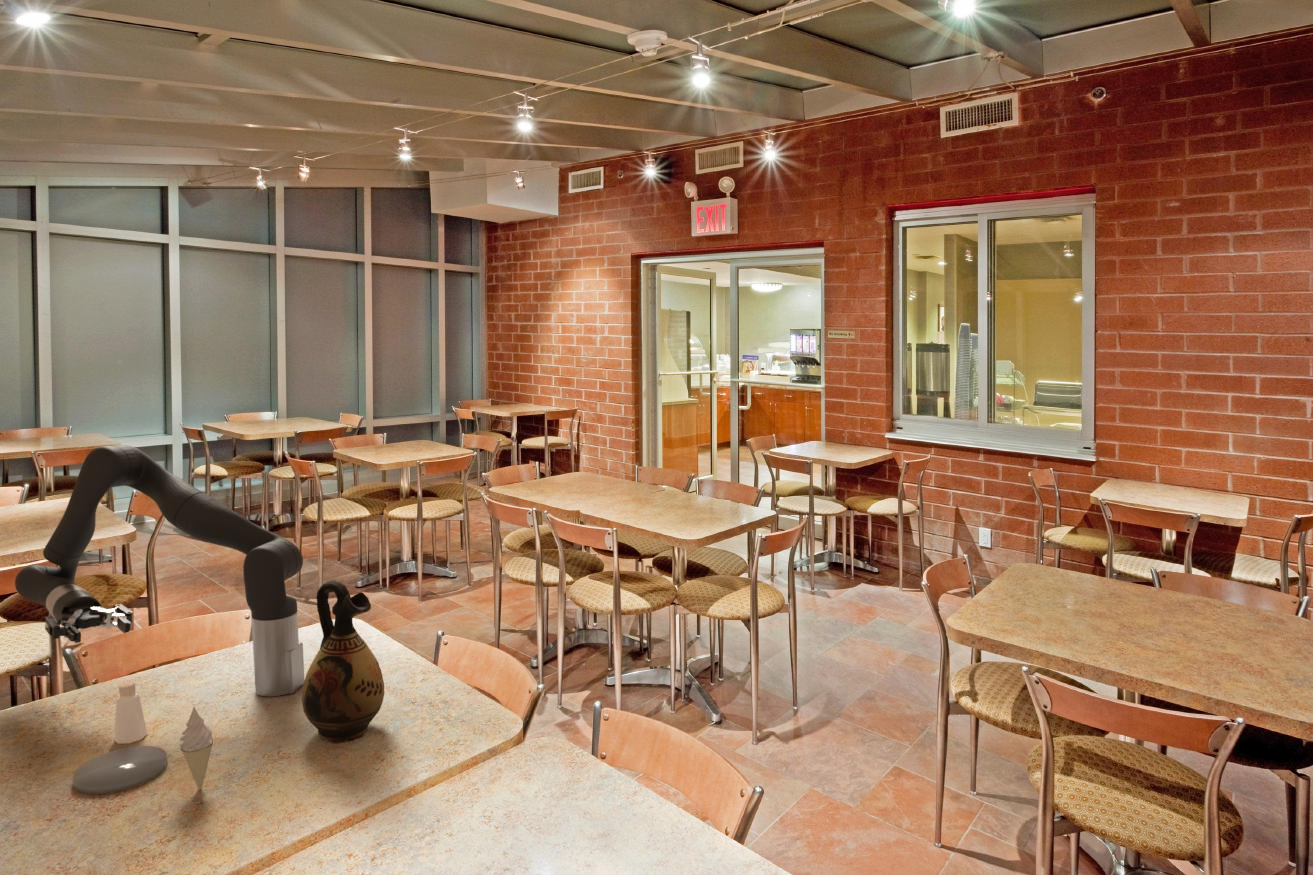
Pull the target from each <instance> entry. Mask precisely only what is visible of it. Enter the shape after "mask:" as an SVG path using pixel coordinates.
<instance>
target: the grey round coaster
mask: <svg viewBox="0 0 1313 875" xmlns="http://www.w3.org/2000/svg"><path fill="white" fill-rule="evenodd" d="M167 766H168V754H167V751H166V750H165V749H163V748H161V747H159V746H156V745H155V746H153V745H138V746H137V745H134V746H127V747H123V748H119V749H114V750H111V751H109V752H105V753H102V754H100V755H97V756H95V757H94V758H91V759H89V760H87V761H86V762H85V763H83V764H82V765H80V766H79V767H78V768H77V769H76V770H75V771H74V773H73V776H72V779H73V787H74V789H75V791H77V792H78V791H79V792H78V793H81V794H84V795H92V794H99V795H105V794H104V793H109V794H112V793H111V792H115V793H119V792H118V791H120V792H123V791H122V790H124V791H127V790H130V789H129V788H131V789H133V788H136V787H138V786H141V785H143V784H142V783H144V784H145V783H147V782H150V781H151V780H153V779H154V778H157V777H158V776H159V775H161V774H162V773H163V772H164V771H165V770H166V768H167ZM140 784H141V785H140ZM132 787H133V788H132ZM126 789H127V790H126ZM102 793H103V794H102Z"/></svg>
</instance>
